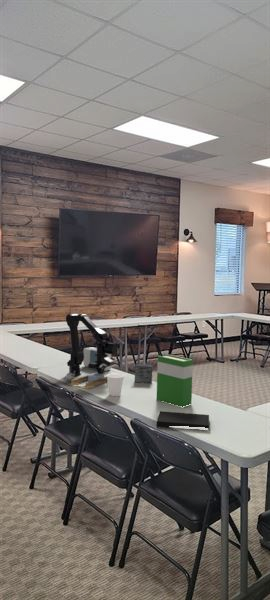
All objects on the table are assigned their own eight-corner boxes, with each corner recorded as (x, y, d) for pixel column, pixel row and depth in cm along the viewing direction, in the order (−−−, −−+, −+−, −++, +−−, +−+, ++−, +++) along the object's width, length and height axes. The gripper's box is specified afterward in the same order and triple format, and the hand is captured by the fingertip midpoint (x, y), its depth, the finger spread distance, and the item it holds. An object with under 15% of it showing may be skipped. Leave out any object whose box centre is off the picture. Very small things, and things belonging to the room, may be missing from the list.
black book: (159, 417, 214) (160, 410, 214) (208, 420, 210) (209, 414, 210) (156, 427, 200) (156, 421, 200) (208, 432, 196) (209, 425, 196)
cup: (126, 394, 249) (127, 374, 248) (118, 398, 240) (119, 378, 239) (111, 391, 253) (111, 372, 252) (102, 396, 244) (103, 376, 243)
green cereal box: (156, 400, 239) (157, 355, 237) (165, 397, 244) (166, 354, 243) (182, 408, 227) (183, 361, 225) (191, 405, 232) (192, 359, 230)
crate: (87, 382, 272) (88, 374, 271) (95, 379, 277) (95, 372, 277) (96, 384, 268) (97, 376, 267) (104, 381, 274) (104, 374, 273)
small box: (152, 381, 278) (152, 364, 277) (151, 383, 271) (152, 366, 271) (135, 380, 279) (135, 363, 278) (134, 383, 272) (134, 366, 272)
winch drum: (64, 382, 270) (65, 369, 269) (69, 380, 273) (70, 368, 273) (72, 384, 266) (72, 371, 266) (77, 382, 270) (77, 370, 269)
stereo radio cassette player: (82, 366, 311) (83, 338, 310) (91, 364, 318) (91, 337, 316) (104, 372, 298) (104, 342, 296) (112, 370, 304) (113, 341, 302)
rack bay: (69, 385, 264) (69, 380, 263) (96, 376, 284) (96, 372, 284) (86, 389, 256) (86, 384, 256) (113, 380, 277) (113, 375, 277)
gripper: (102, 356, 264) (101, 382, 265) (120, 351, 279) (120, 376, 280) (87, 354, 270) (87, 379, 271) (106, 349, 285) (106, 373, 287)
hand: (100, 377), depth 277 cm, fingers closed
